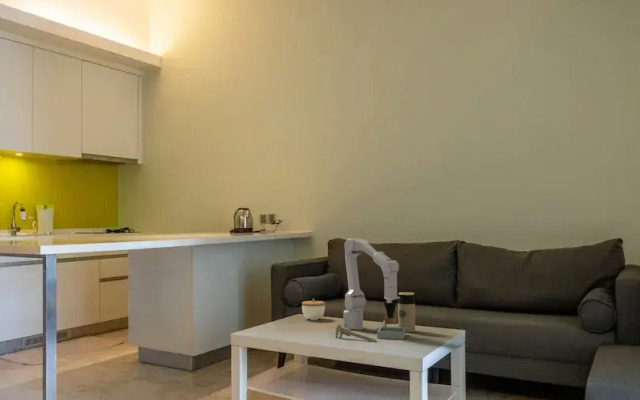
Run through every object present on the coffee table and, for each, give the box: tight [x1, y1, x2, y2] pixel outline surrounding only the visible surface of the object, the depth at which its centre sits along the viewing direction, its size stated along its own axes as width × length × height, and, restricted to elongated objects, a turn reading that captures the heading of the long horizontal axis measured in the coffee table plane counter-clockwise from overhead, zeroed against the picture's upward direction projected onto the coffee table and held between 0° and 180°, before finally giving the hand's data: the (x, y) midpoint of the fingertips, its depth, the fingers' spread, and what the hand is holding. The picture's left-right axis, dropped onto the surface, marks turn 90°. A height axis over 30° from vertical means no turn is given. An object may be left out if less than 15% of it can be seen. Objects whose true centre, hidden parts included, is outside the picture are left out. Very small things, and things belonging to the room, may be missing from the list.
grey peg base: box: [375, 319, 388, 333], centre depth 267 cm, size 8×8×5 cm
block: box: [384, 310, 398, 325], centre depth 256 cm, size 5×5×5 cm
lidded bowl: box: [301, 298, 326, 321], centre depth 302 cm, size 13×13×11 cm
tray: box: [376, 326, 407, 340], centre depth 254 cm, size 12×12×3 cm
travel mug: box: [397, 291, 416, 333], centre depth 268 cm, size 8×8×18 cm
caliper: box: [335, 324, 379, 343], centre depth 247 cm, size 20×1×6 cm, turn 60°
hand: (390, 316), depth 256 cm, fingers closed on block, 5 cm apart
